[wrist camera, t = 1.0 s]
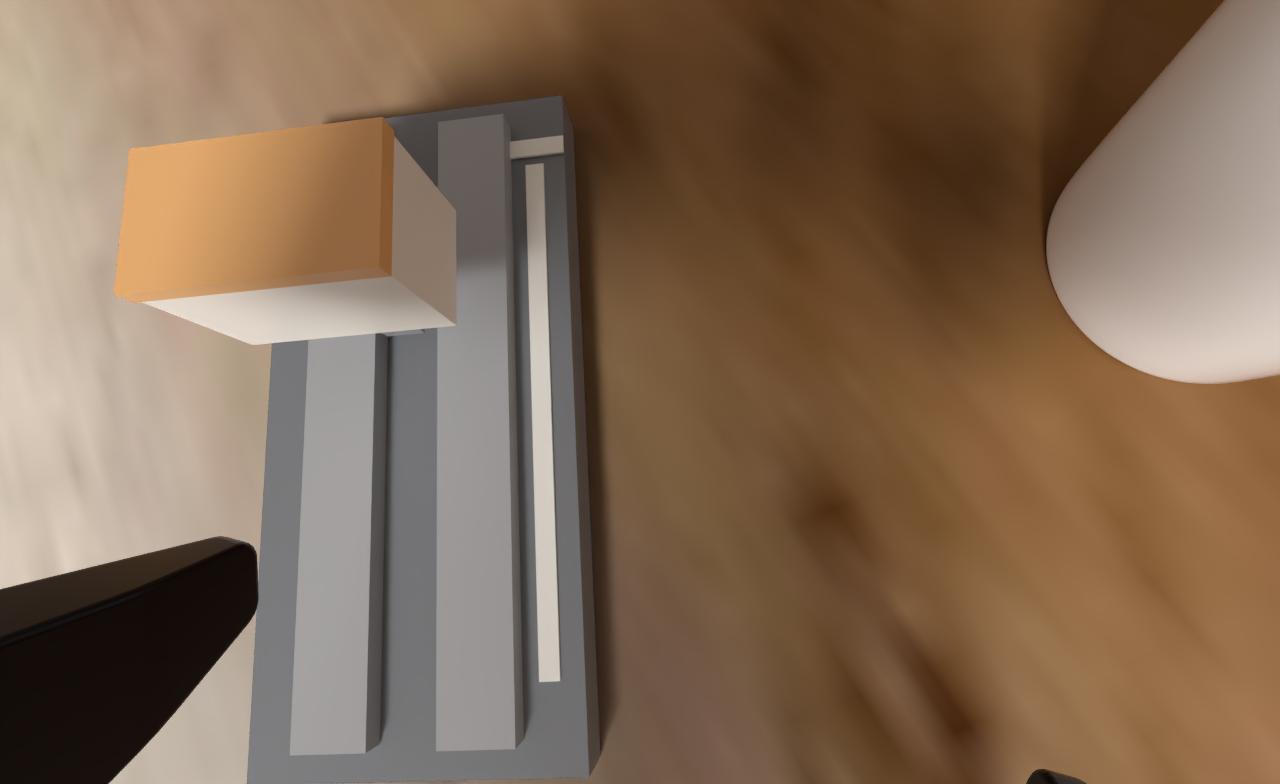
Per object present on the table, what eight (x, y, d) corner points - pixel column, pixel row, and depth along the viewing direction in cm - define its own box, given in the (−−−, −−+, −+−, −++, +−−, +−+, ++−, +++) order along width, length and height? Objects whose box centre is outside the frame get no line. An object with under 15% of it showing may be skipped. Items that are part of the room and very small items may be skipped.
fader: (496, 356, 20) (379, 266, 13) (317, 372, 20) (113, 294, 13) (494, 254, 20) (382, 116, 14) (321, 272, 21) (129, 149, 14)
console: (600, 754, 20) (583, 788, 17) (286, 763, 21) (226, 796, 18) (573, 126, 24) (556, 79, 21) (314, 158, 25) (269, 117, 22)
